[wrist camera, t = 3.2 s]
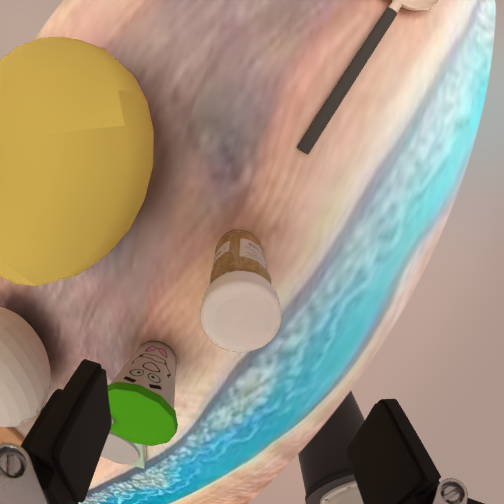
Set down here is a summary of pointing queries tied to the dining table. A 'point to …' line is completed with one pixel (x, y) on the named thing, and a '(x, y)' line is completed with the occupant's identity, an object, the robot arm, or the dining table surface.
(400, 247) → the dining table surface
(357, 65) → the ladle
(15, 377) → the decorative object
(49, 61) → the vase
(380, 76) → the dining table surface
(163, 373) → the cup
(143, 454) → the scale
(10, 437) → the lidded bowl
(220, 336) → the sprinkles bottle
